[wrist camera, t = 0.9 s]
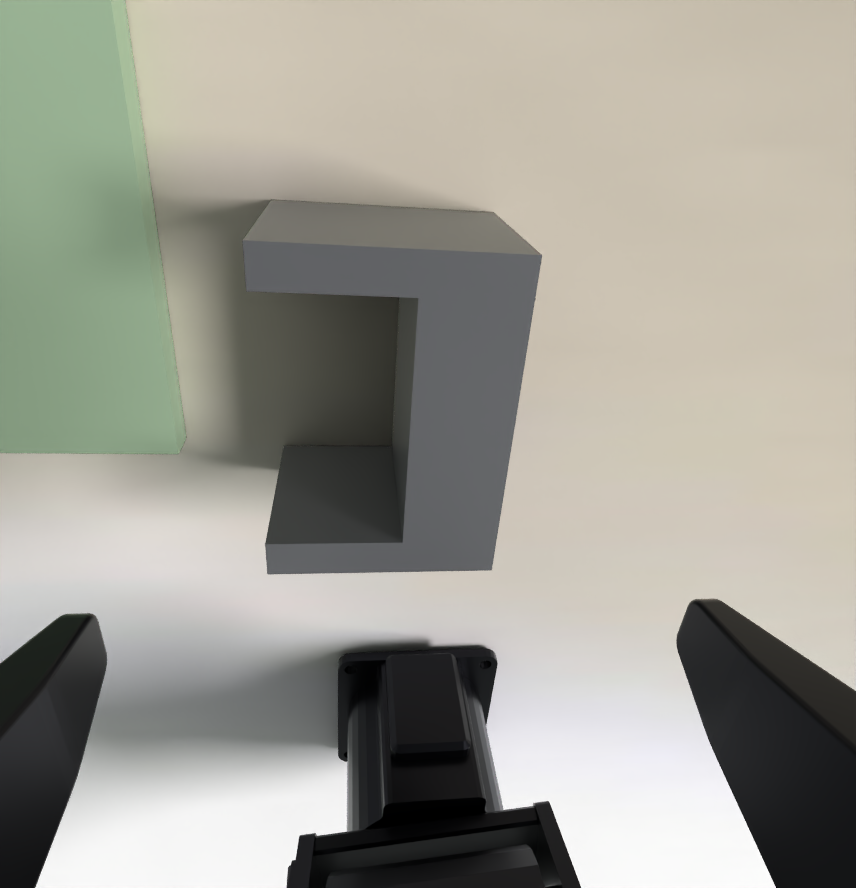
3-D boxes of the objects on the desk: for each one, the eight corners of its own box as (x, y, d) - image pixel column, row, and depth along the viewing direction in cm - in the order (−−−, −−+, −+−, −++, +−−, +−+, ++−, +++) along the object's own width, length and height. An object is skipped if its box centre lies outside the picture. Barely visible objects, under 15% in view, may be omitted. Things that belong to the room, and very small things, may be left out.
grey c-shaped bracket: (493, 212, 17) (541, 255, 13) (463, 472, 21) (491, 570, 17) (271, 199, 16) (242, 240, 12) (285, 471, 20) (267, 574, 16)
